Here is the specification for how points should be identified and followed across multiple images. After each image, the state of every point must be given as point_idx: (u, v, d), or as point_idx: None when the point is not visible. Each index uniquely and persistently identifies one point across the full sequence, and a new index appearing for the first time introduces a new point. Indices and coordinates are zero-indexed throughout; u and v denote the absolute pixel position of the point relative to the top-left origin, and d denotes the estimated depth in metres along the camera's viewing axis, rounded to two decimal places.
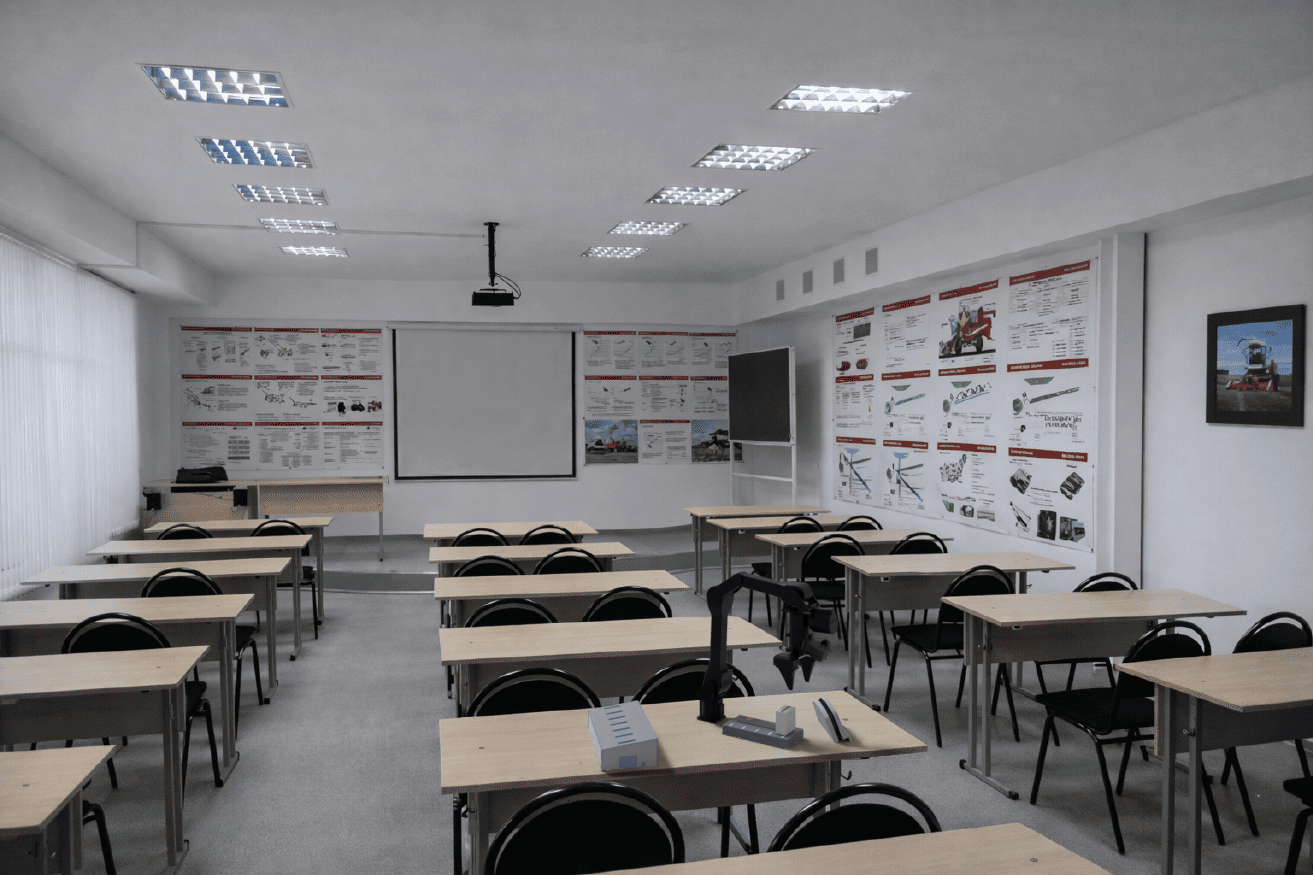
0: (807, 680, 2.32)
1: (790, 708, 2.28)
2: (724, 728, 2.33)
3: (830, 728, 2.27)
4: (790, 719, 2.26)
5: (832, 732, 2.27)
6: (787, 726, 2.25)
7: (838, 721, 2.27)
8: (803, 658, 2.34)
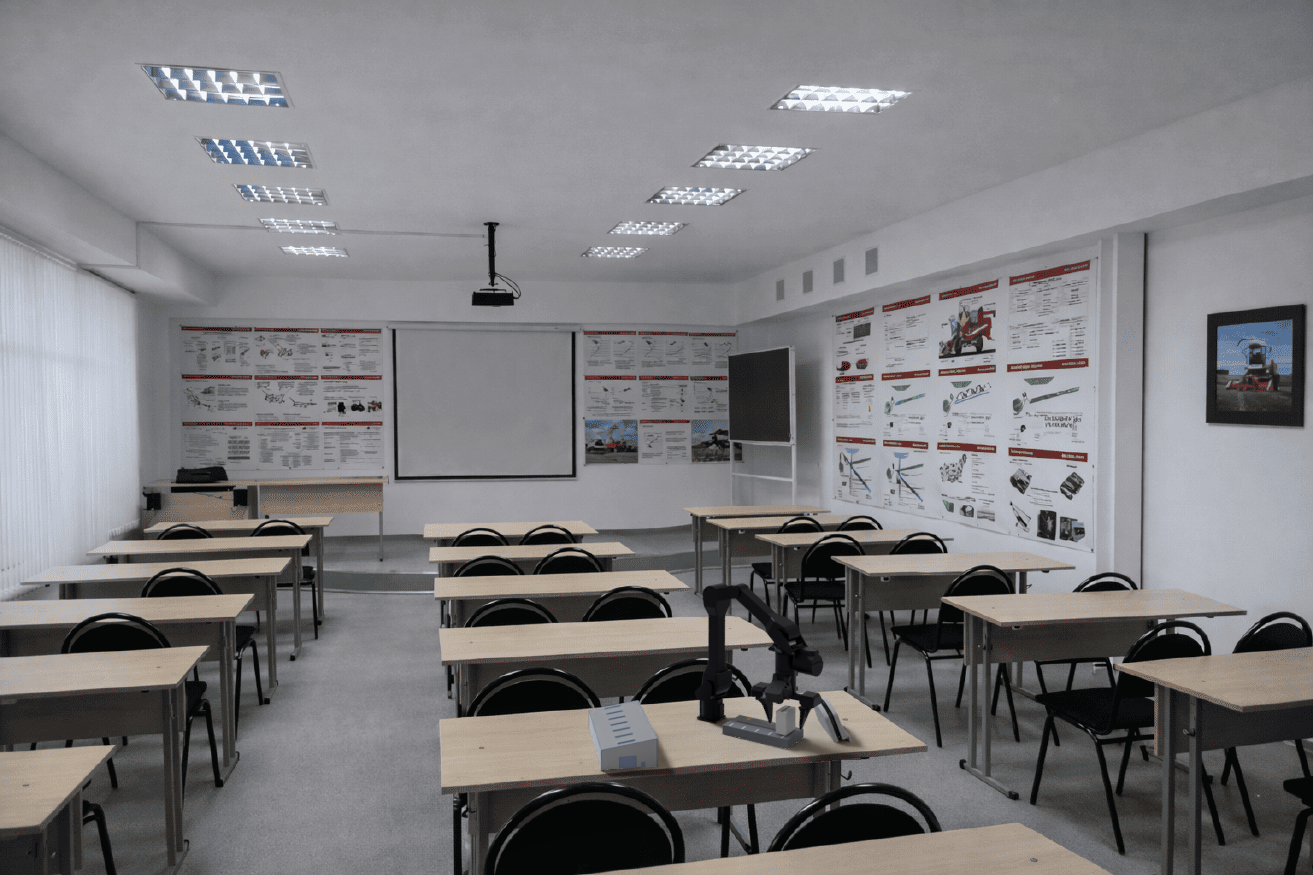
0: None
1: (790, 708, 2.28)
2: (724, 728, 2.33)
3: (830, 728, 2.27)
4: (790, 719, 2.26)
5: (832, 732, 2.27)
6: (787, 726, 2.25)
7: (838, 721, 2.27)
8: None
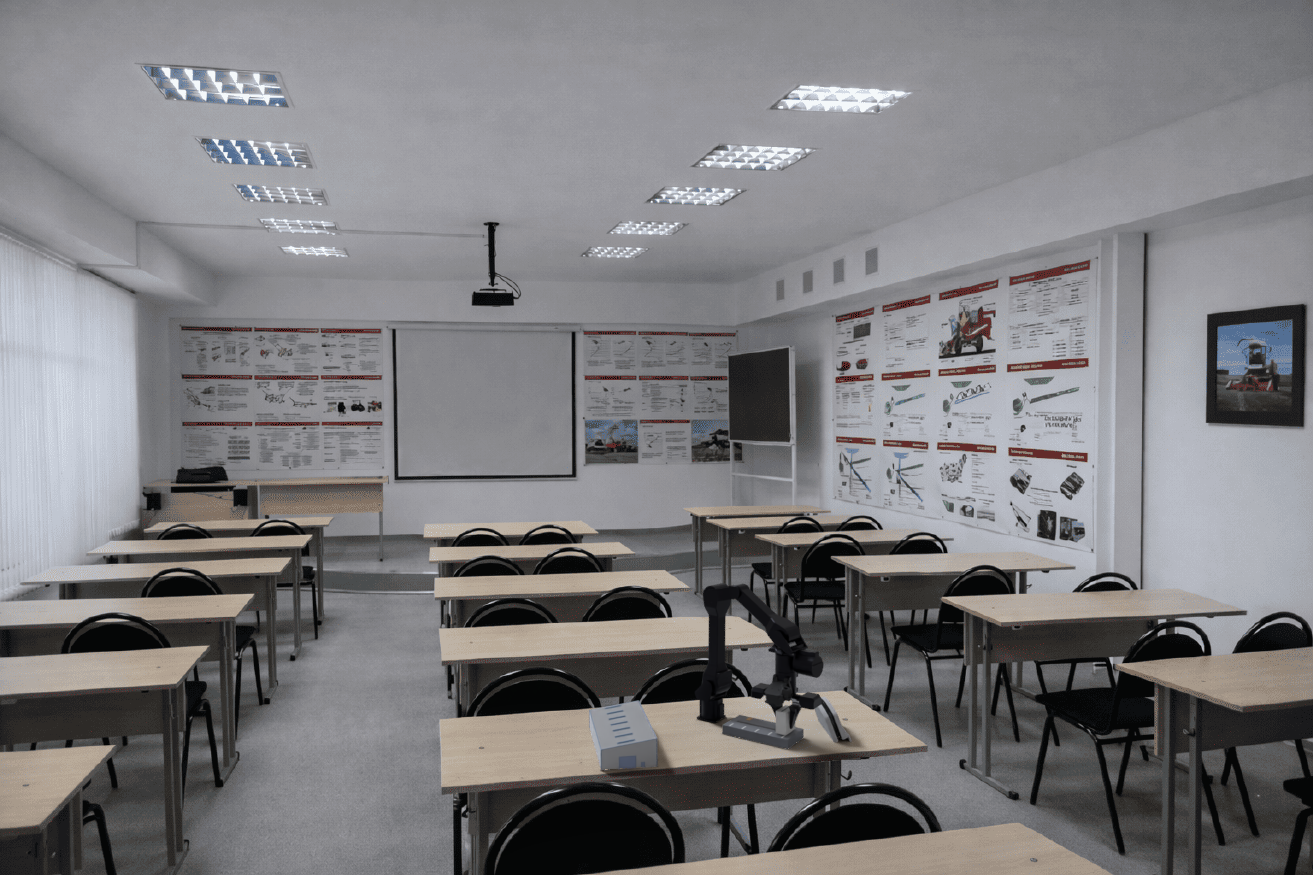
0: None
1: None
2: (724, 728, 2.33)
3: (830, 728, 2.27)
4: (789, 719, 2.26)
5: (832, 732, 2.27)
6: (787, 726, 2.25)
7: (838, 721, 2.27)
8: None
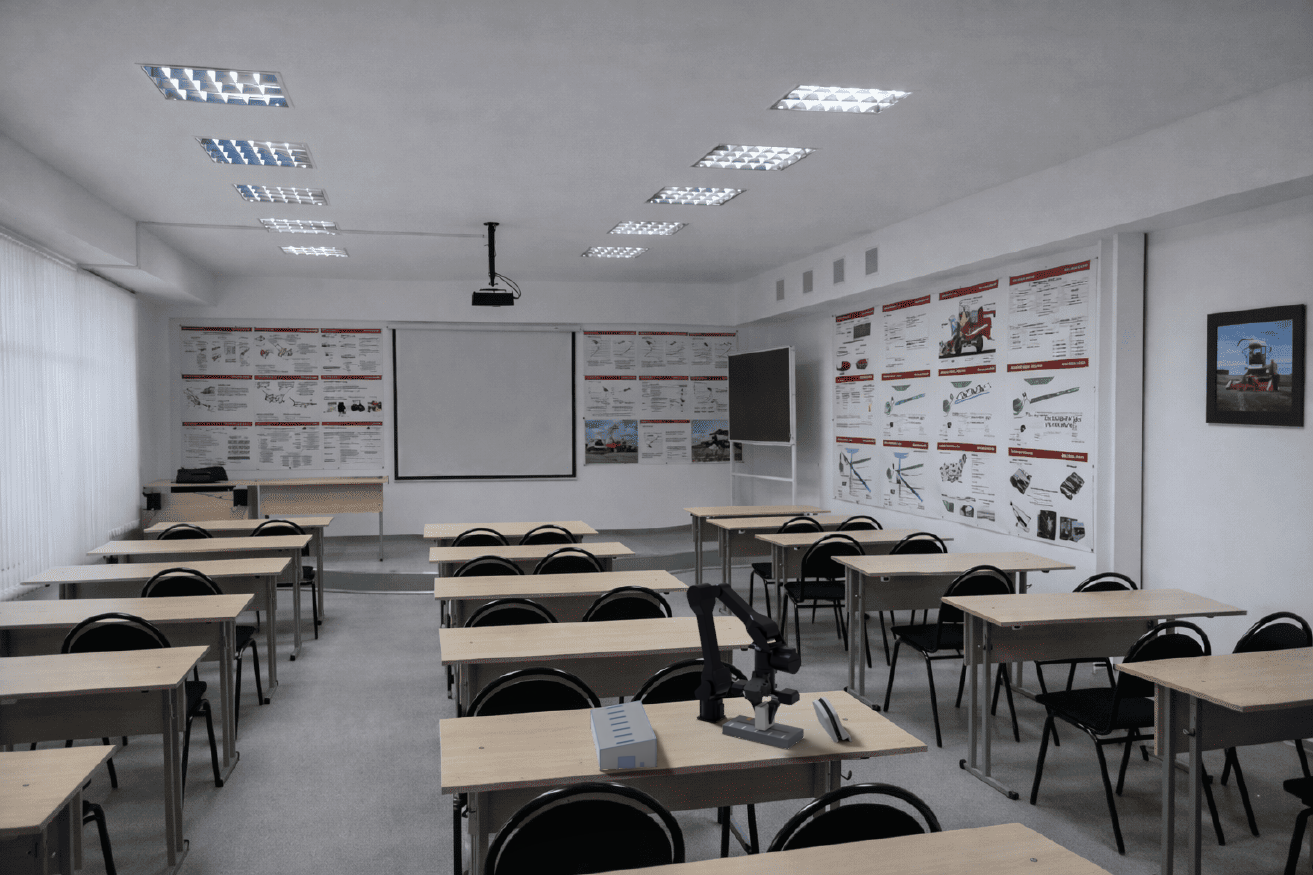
0: None
1: None
2: (724, 728, 2.33)
3: (830, 728, 2.27)
4: None
5: (832, 732, 2.27)
6: (766, 722, 2.28)
7: (838, 721, 2.27)
8: None
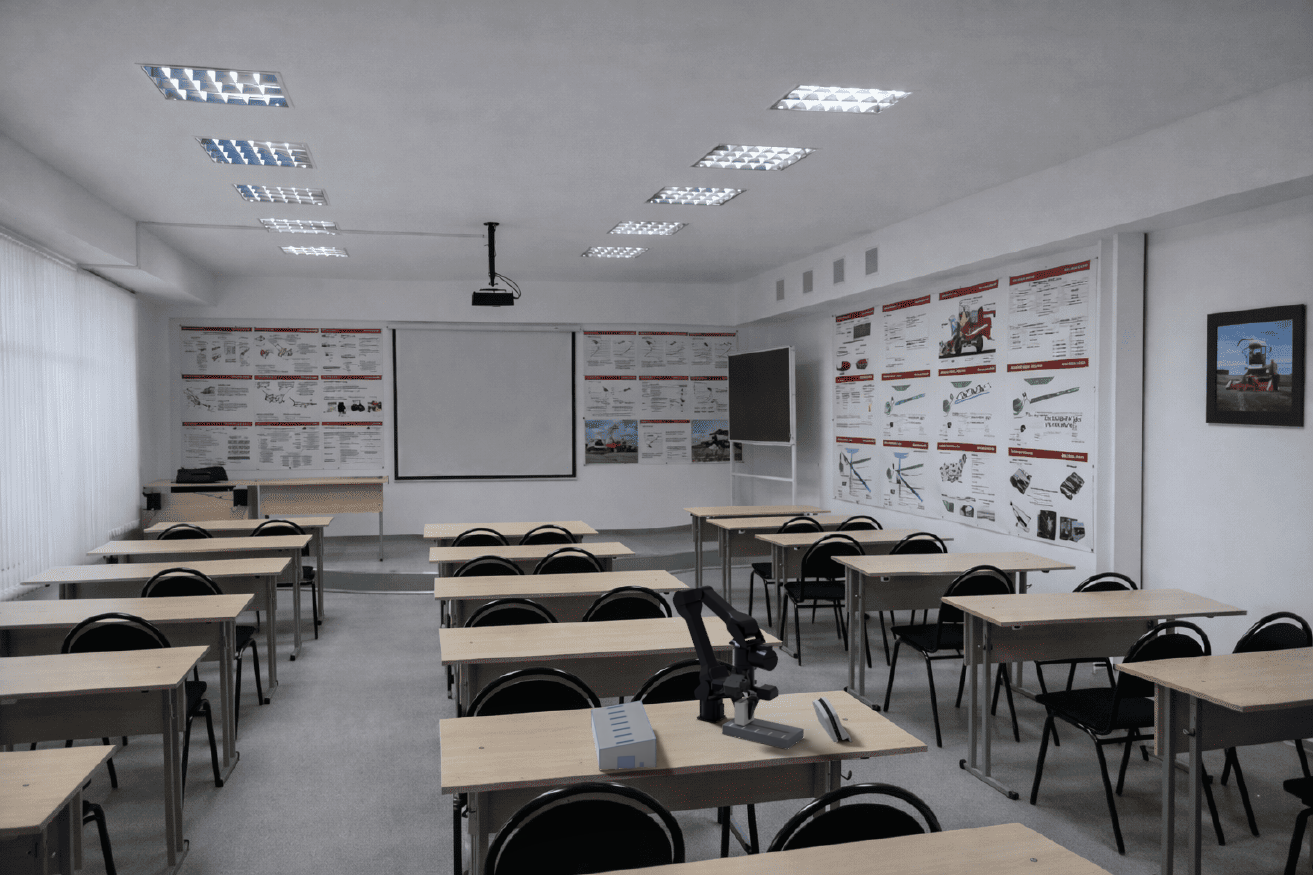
0: None
1: None
2: (724, 728, 2.33)
3: (830, 728, 2.27)
4: None
5: (832, 732, 2.27)
6: (745, 717, 2.32)
7: (838, 721, 2.27)
8: None
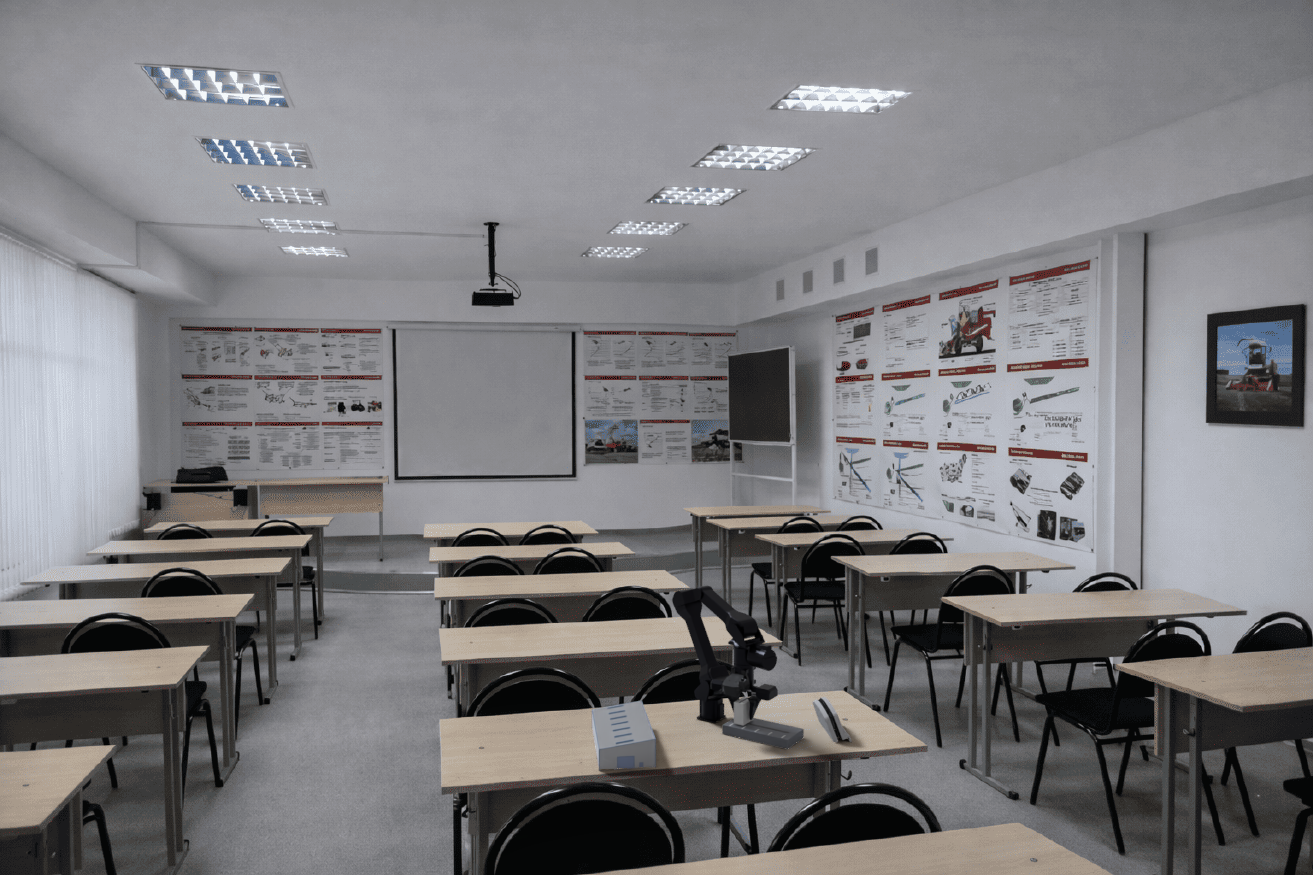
0: None
1: None
2: (724, 728, 2.33)
3: (830, 728, 2.27)
4: (747, 710, 2.33)
5: (832, 732, 2.27)
6: (744, 717, 2.32)
7: (838, 721, 2.27)
8: None
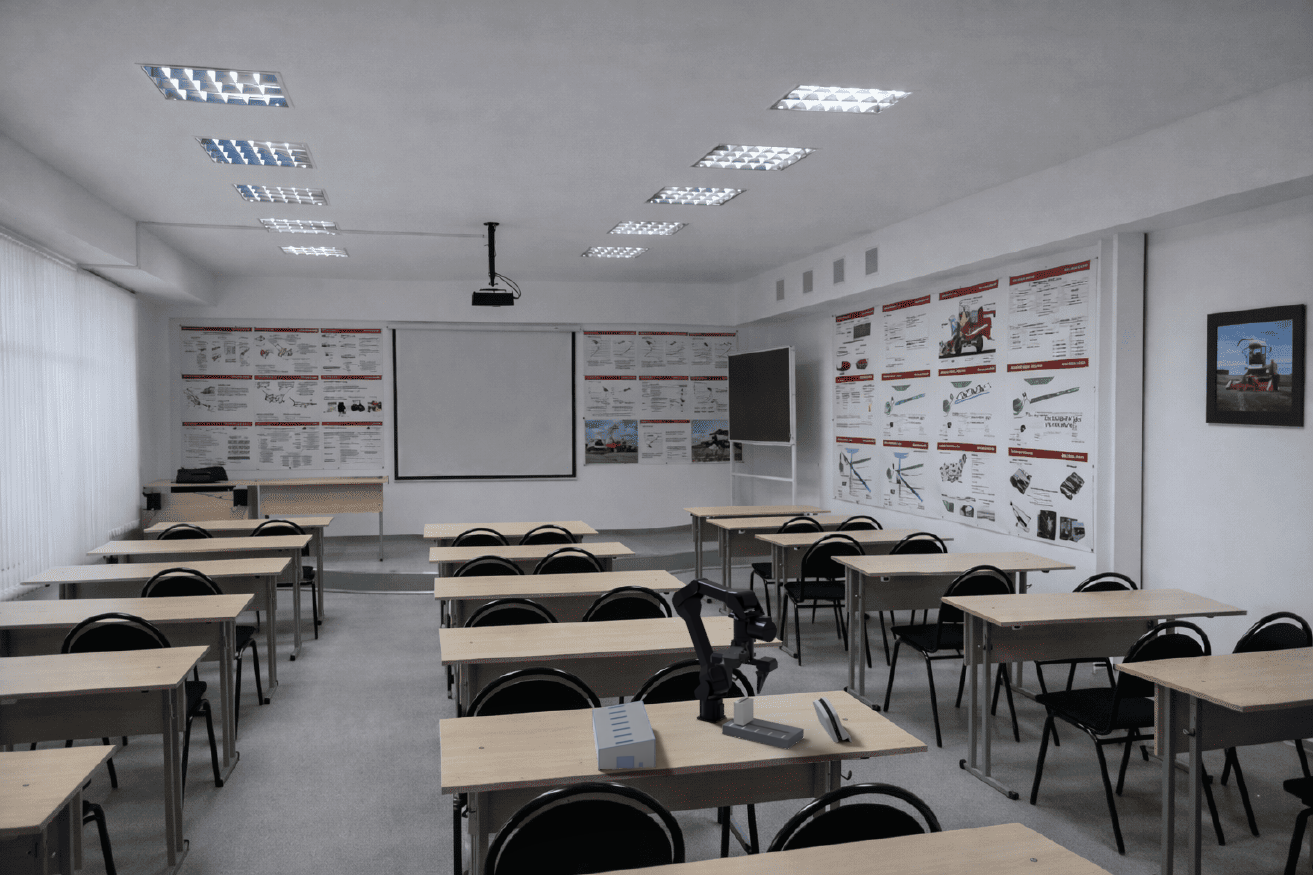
0: None
1: (748, 699, 2.35)
2: (724, 728, 2.33)
3: (830, 728, 2.27)
4: (747, 710, 2.33)
5: (832, 732, 2.27)
6: (744, 717, 2.32)
7: (838, 721, 2.27)
8: None
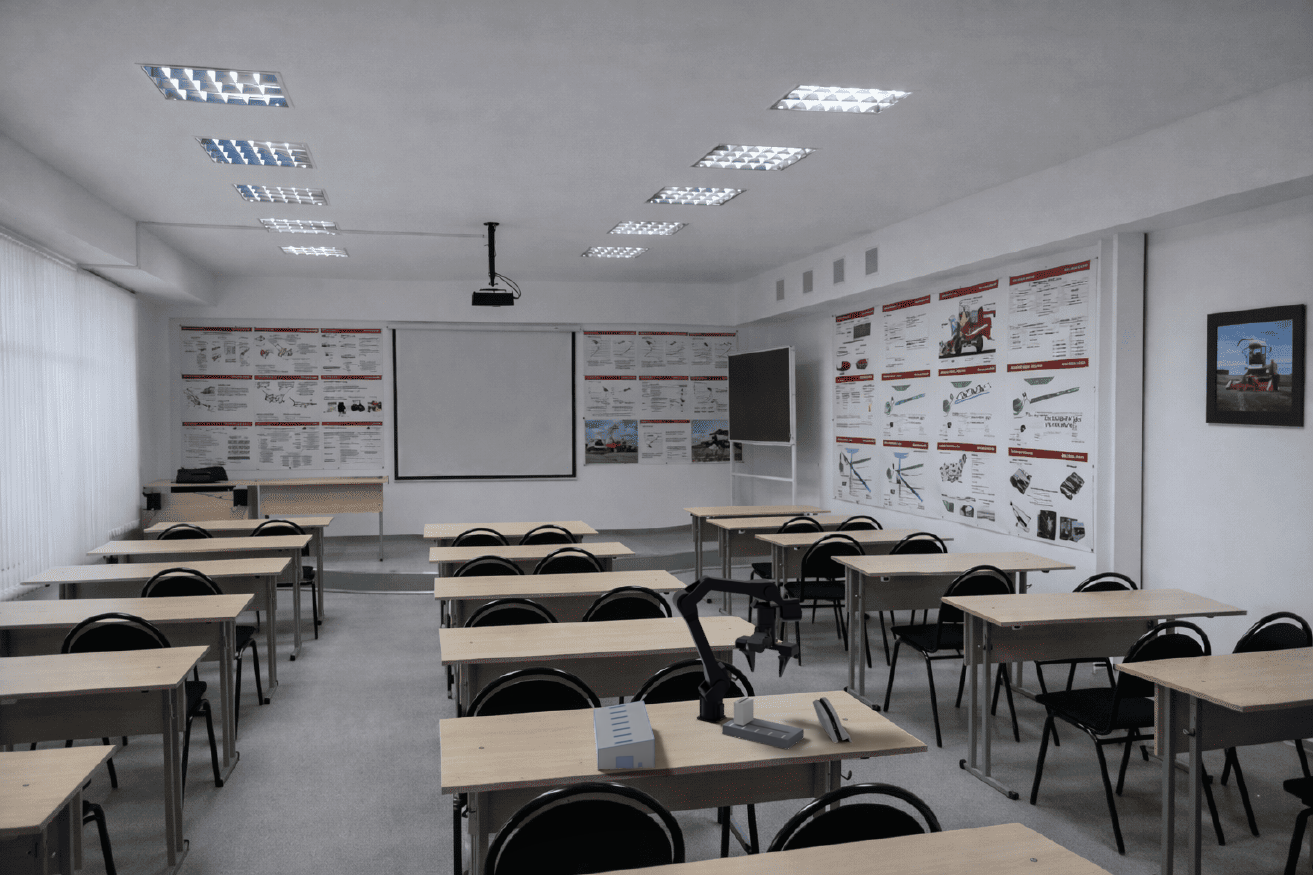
0: None
1: (748, 699, 2.35)
2: (724, 728, 2.33)
3: (830, 728, 2.27)
4: (747, 710, 2.33)
5: (832, 733, 2.27)
6: (744, 717, 2.32)
7: (838, 722, 2.27)
8: None
